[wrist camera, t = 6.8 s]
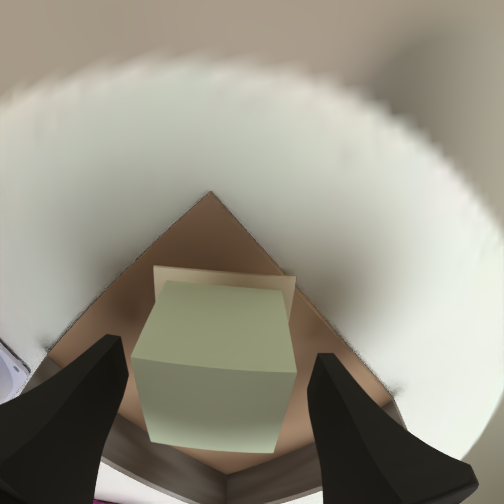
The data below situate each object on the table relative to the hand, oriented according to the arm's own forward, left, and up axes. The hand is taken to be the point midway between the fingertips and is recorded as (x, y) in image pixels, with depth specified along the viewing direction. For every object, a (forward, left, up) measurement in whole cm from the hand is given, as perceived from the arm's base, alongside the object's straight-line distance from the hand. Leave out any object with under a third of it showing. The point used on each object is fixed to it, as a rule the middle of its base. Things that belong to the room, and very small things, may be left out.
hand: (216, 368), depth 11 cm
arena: (+4, -4, -3) cm, 6 cm away
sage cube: (0, 0, -2) cm, 2 cm away
